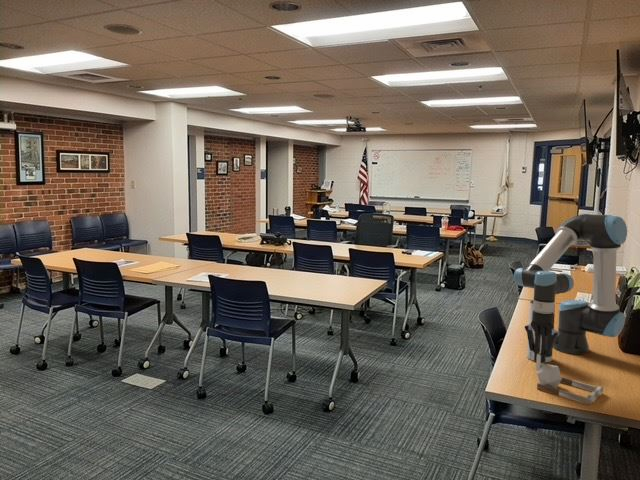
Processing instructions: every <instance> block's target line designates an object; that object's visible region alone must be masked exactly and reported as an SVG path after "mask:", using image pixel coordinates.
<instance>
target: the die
mask: <svg viewBox="0 0 640 480" xmlns="http://www.w3.org/2000/svg"><path fill="white" fill-rule="evenodd" d="M560 371H561V370H560V368H559V366H558V365H553V364H548V363H543V365H542V366H541V368H540V370H539V371H537V373H536V375H537V378H538V382H539V383H540V384H543V385H546V386H550V387H553V388H556V389H558V386H559V385H560V384H561V382H560V381H561V380H562V377H563V376H562V374H561V372H560Z"/></svg>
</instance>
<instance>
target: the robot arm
mask: <svg viewBox="0 0 640 480" xmlns="http://www.w3.org/2000/svg"><path fill="white" fill-rule="evenodd" d="M627 237H628V227H627V224H626V221H625V220H624V219H623V218H622V217H621V216H617V215H612V214H588V213H583V214H578V215H575V216H573V217H571V218H569V219H567V220H565V221H564V222H563V223H562V224H561V225H559V226H558V227H557V228H556V230H555V235H554V236H553V237H552V238H551V239H550V240H549V241H548V243H547V244H546V245H545V246H544V247H543V248H542V249H541V250H540V251H539V253H538V254H537V255H536V256H535V258H534V259H533V260H532V261H531V262H530V263H528V265H527V266H526V268H525V267H519V268H516V269H515V271H514V273H513V280H514V283H515V285H517V286H519V287H520V286H521V287H523V288H528V289H529V288H530V289H533V309H534V311H533V313H532V322H531V324H530V325H529V324H527V325H525V326H524V329H525V331H526V334H527V335H526V336H527V343H528V342H529V348H530V350H531V351H533V352H534V353H535V354H534V361H533V362H535V371H537V372H538V371H539V370H540V368H541V366H542V365H543V364H546V363H545V360H546V355H549V354H550V353H551V352H552V353H553V350H552V349H555V350H556V351H559V352H561V353H566V354H570V355H585V354H588V353H589V352H590V346H589V342H588V339H587V334H586V333H587V332H588V333H591V334H594V335H595V334H596V335H599V336H602V337H608V338H616V337H617V336H619V335H620V333H622V331H623V329H624V326H625V322H626V316H625V314H624V313H623V312H621V311H620V305H619V304H617V303H616V289H617V288H616V287H617V251H618V250H619V249H620V248H621V246H622V245H623V244H624V243H625V242H626V240H627ZM579 241H586V242H587V241H588V242H589V247H590V248H591V249H592V250H593V270H592V271H593V275H592V276H593V277H592V279H593V281H592V284H593V286H592V302H590V303H589V302H588V301H586V300H581V299H580V300H578V299H577V300H576V299H574V300H573V299H572V300H564V301H561V302H560V304H559V309H558V311H559V312H558V327H557V328H558V329H557V330H556V329H555V325H554V326H553V319H554V320H555V317H554V313H553V312H554V305H555V306H556V303H555V302H556V295H560V294H564V293H569V292H570V291H571V290H572V289H573V288H574V286H575V281H574V279H573V277H572V275H570V274H568V273H566V272H565V273H561V272H560V273H556V272H554V271H550V270H551V269H552V268H553V266H554V265H555V263H557V262H558V261H559V260H560V259H561V257H562V256H563V255H564V253H565V252H566V251H567V250H568V249H569V248H570V247H571V246H572V245H575V244H577V242H579ZM532 328H533V330H534V331H535V343H534V337H533V331H532ZM551 331H552V337H551V339H550V342H549V345H548V348H547V339H548V334H549V333H550V332H551ZM541 335H542V336H541ZM541 337H542V344H541V353H539V352H540V342H541Z"/></svg>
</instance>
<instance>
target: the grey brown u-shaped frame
mask: <svg viewBox="0 0 640 480" xmlns="http://www.w3.org/2000/svg"><path fill="white" fill-rule="evenodd" d="M561 377H562V380H561V381H560V384H565V385H567V386H572V387H576V388H578V389H582V390H585V391H589V392H590V394H588V395H587V396H583V395H581V394H580V395H579V394H576V393H573V392H569V391H565V390H563V389H559V388H553V387H550V386H546V385H543V384H540V382H538V383H537V385H536V389H537V390H538V391H539V390H540V391H542V392H546V393H550V394H552V395H556V396H559V397H562V398H566V399H568V400H573V401H575V402H578V403H580V404H584V405H588V406H591V405H592V404H593V403H594V402H595V401H596V400H597V399H599V398H600V397H601V395H603V393H604V385H601V384H600V385H599V386H595V385H592V384H588V383H584V382H581V381H578V380H574V379H570V378H567V377H564V376H561Z"/></svg>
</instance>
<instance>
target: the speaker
mask: <svg viewBox="0 0 640 480" xmlns="http://www.w3.org/2000/svg"><path fill="white" fill-rule="evenodd" d="M533 300H534V299H533ZM533 300H530V301H529V310H528V311H529V314H528V315H529V316H528V325H530V324H531V322H532V313H533V311H534V309H533ZM553 313H554V319H553V326H554V327H555V314H556V304H555V305H554V312H553ZM532 331H533V337H534V343H535V331H534V330H533V328H532ZM541 336H542V335H541ZM551 337H552V331H551V332H550V333H549V334H548V339H547V348H548V345H549V342H550V339H551ZM541 344H542V337H541V342H540V352H539V353H541ZM553 349H554V348H553ZM553 349H552V352H551V353H550V354H549V355H546V360H545V363H544V364H547V363H549V362H552V360H553ZM526 350H527V351H526V358H527V359H528V360H530V361H532V360H533V361H532V362H535V361H534V354H535V353H534V352H533V351H531V350H530V348H529V342H528V341H527V348H526Z"/></svg>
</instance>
